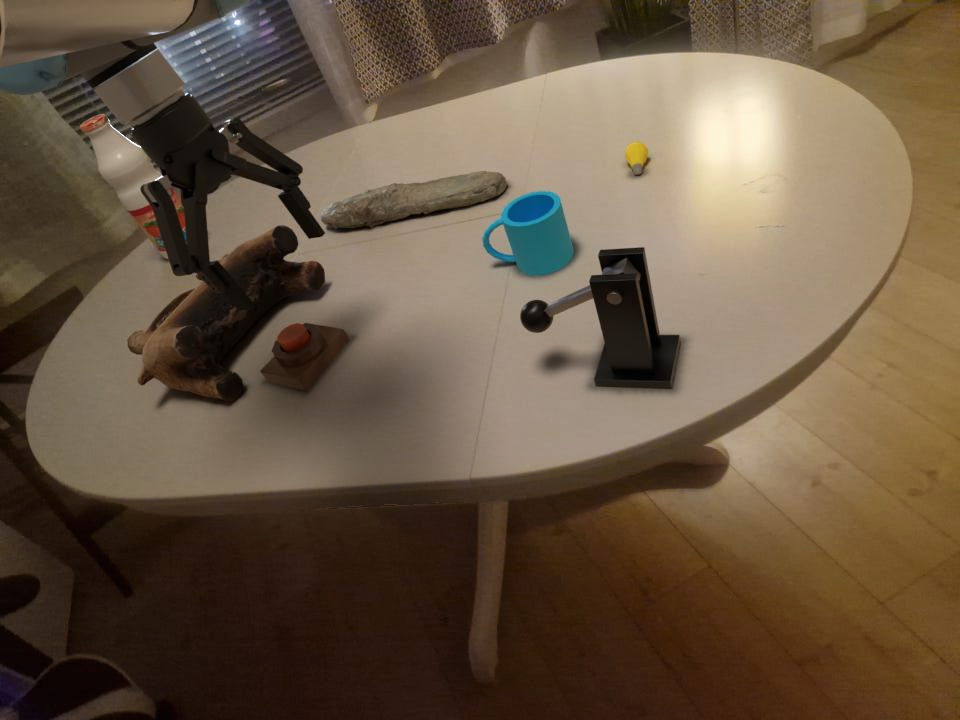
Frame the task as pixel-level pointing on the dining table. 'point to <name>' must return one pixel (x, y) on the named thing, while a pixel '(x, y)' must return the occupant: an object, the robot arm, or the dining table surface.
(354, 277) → the dining table surface
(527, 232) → the mug
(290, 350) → the button
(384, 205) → the long grey stone
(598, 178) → the dining table surface
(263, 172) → the robot arm
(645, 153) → the light bulb
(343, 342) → the button block
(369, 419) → the dining table surface
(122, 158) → the fruit juice
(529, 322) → the lever
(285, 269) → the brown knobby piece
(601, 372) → the bracket
